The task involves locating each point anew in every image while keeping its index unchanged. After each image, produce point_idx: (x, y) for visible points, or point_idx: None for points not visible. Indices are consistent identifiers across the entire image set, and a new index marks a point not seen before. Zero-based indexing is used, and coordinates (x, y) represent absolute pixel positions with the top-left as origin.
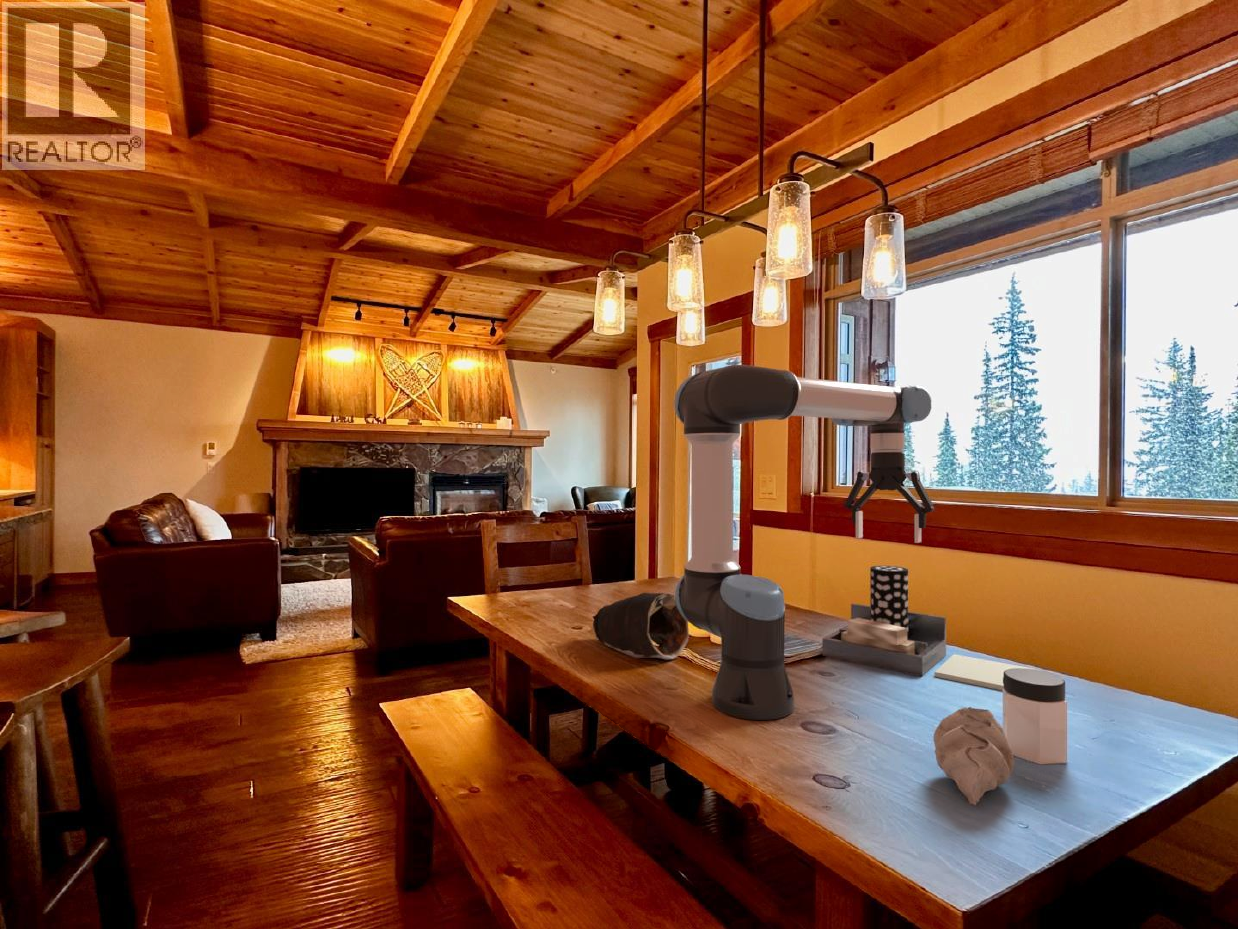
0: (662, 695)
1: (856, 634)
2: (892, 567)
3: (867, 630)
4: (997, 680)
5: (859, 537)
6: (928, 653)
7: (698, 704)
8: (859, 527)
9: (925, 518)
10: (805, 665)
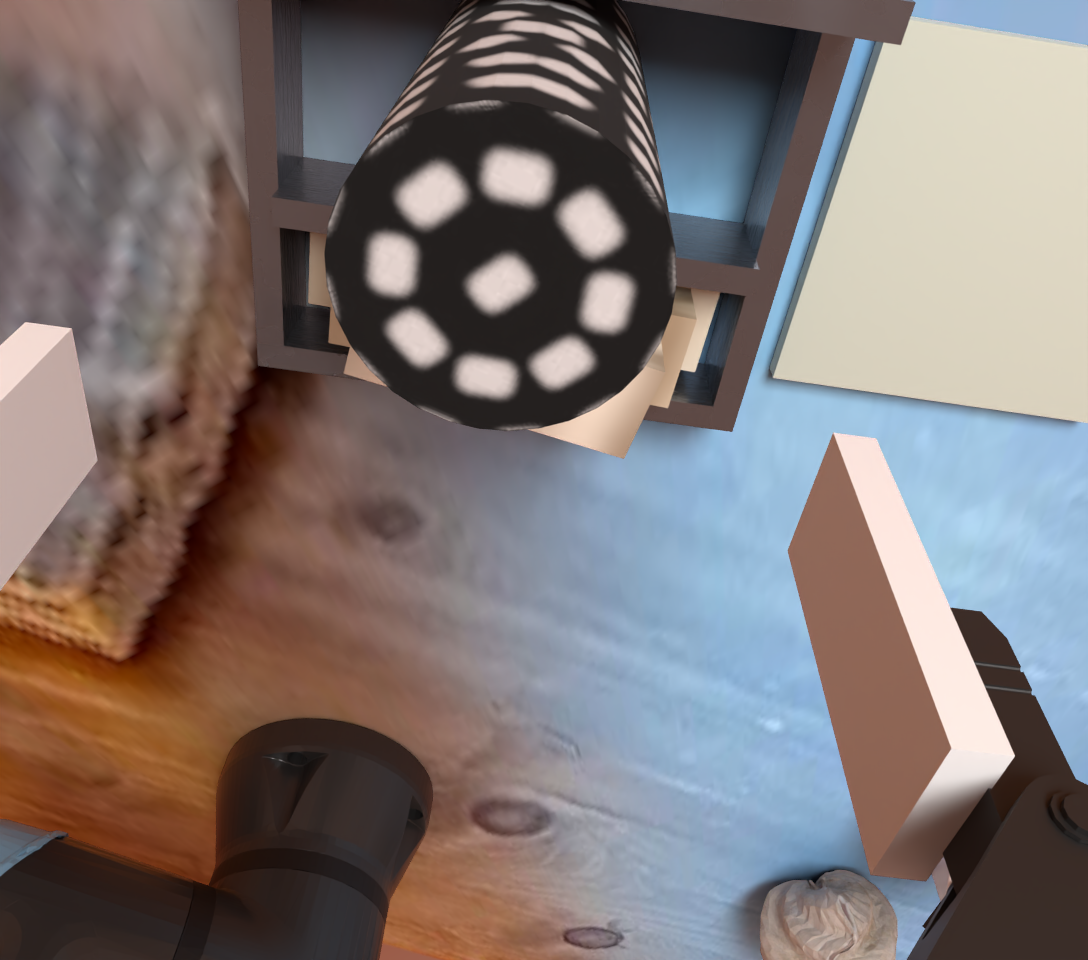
0: (125, 815)
1: None
2: (515, 197)
3: None
4: (1019, 362)
5: (88, 444)
6: (758, 345)
7: None
8: (18, 532)
9: (1041, 754)
10: (288, 474)
